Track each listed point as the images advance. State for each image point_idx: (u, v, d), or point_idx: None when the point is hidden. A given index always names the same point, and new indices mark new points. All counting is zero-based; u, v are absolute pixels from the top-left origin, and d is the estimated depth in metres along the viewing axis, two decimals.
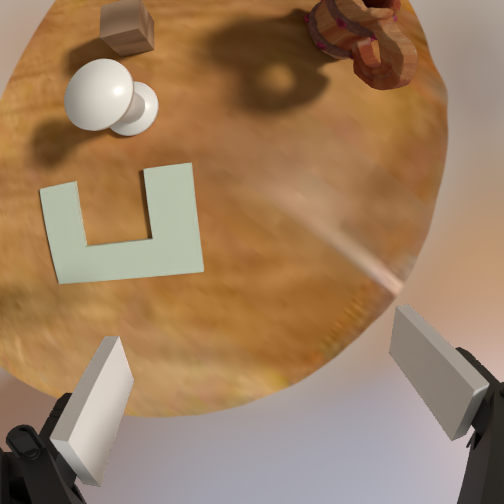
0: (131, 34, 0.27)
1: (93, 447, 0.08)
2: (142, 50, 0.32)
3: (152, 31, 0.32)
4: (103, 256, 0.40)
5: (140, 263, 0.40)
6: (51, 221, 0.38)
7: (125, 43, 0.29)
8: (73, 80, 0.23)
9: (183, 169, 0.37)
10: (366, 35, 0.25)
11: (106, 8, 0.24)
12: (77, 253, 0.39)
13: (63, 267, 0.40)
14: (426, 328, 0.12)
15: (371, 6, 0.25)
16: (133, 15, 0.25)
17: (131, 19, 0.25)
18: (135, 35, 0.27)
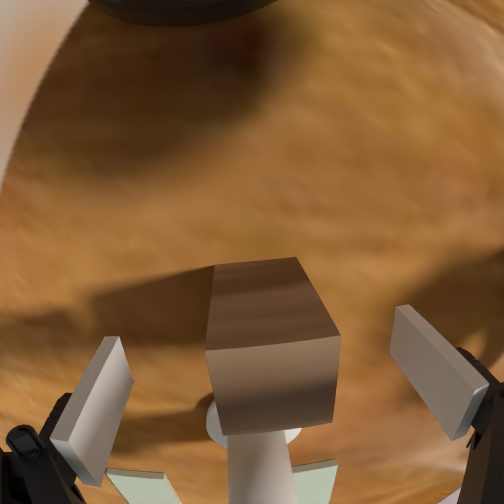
0: None
1: (93, 447, 0.08)
2: None
3: None
4: None
5: None
6: (133, 497, 0.24)
7: None
8: None
9: (327, 471, 0.24)
10: None
11: (227, 363, 0.10)
12: None
13: None
14: (426, 328, 0.12)
15: None
16: (320, 393, 0.11)
17: (314, 403, 0.11)
18: None
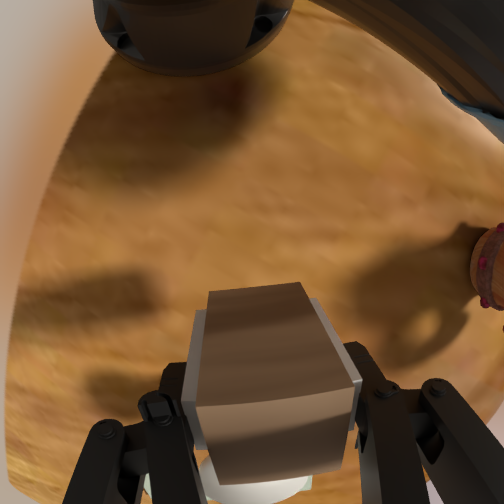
0: None
1: None
2: None
3: None
4: None
5: None
6: None
7: None
8: (211, 471, 0.16)
9: None
10: None
11: (222, 419, 0.08)
12: None
13: None
14: (321, 320, 0.14)
15: None
16: (329, 444, 0.09)
17: (322, 453, 0.09)
18: None
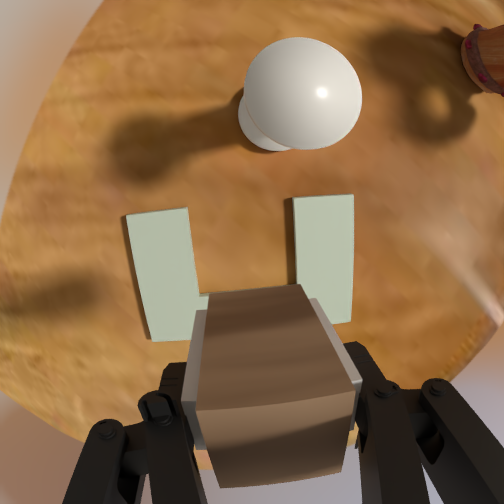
0: None
1: None
2: None
3: None
4: None
5: None
6: (145, 261, 0.30)
7: None
8: (261, 59, 0.16)
9: (344, 202, 0.30)
10: None
11: (223, 423, 0.08)
12: (186, 304, 0.32)
13: (161, 321, 0.32)
14: (321, 320, 0.14)
15: None
16: (329, 447, 0.09)
17: (322, 456, 0.09)
18: None
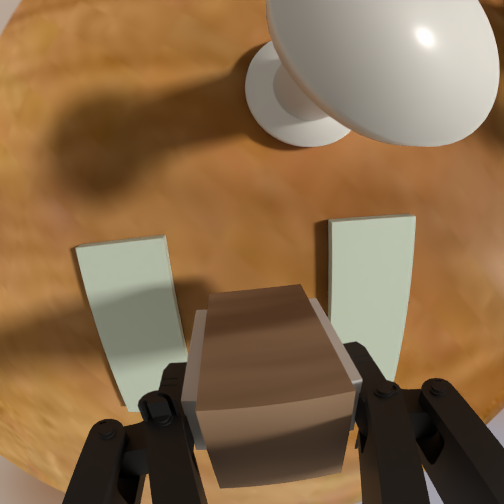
0: None
1: None
2: None
3: None
4: None
5: None
6: (107, 314, 0.20)
7: None
8: None
9: (403, 228, 0.19)
10: None
11: (223, 423, 0.08)
12: None
13: (138, 390, 0.22)
14: (321, 320, 0.14)
15: None
16: (330, 447, 0.09)
17: (322, 457, 0.09)
18: None
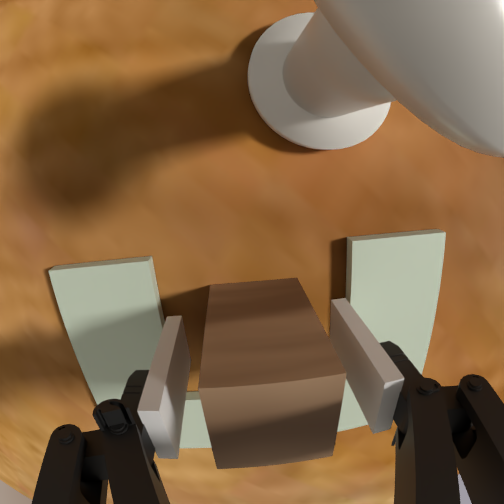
0: None
1: (173, 418, 0.10)
2: None
3: None
4: None
5: None
6: (88, 346, 0.16)
7: None
8: None
9: (432, 246, 0.16)
10: None
11: (223, 401, 0.09)
12: None
13: None
14: (354, 321, 0.13)
15: None
16: (322, 429, 0.10)
17: (315, 438, 0.10)
18: None
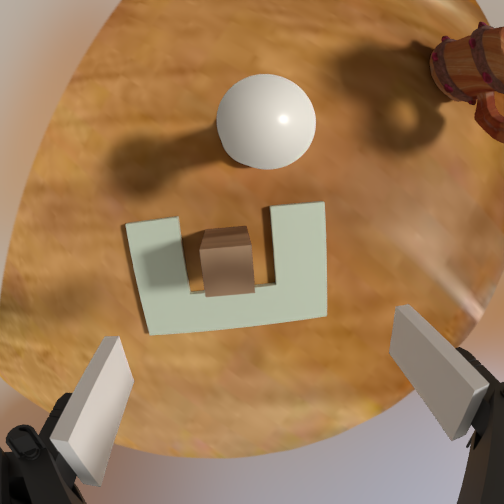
0: None
1: (93, 447, 0.08)
2: None
3: None
4: (213, 305, 0.37)
5: (259, 310, 0.37)
6: (142, 264, 0.35)
7: None
8: (229, 96, 0.20)
9: (316, 209, 0.35)
10: (502, 92, 0.22)
11: (208, 255, 0.28)
12: (178, 301, 0.36)
13: (157, 317, 0.37)
14: (426, 328, 0.12)
15: None
16: (247, 273, 0.28)
17: (244, 279, 0.29)
18: None
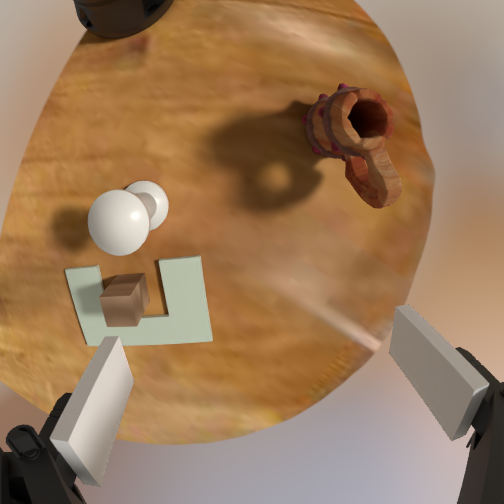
0: None
1: (93, 447, 0.08)
2: None
3: (145, 288, 0.45)
4: (126, 328, 0.47)
5: (159, 334, 0.48)
6: (78, 297, 0.45)
7: None
8: (93, 208, 0.31)
9: (193, 262, 0.45)
10: (358, 156, 0.33)
11: (104, 301, 0.38)
12: (104, 324, 0.47)
13: (91, 333, 0.47)
14: (426, 328, 0.12)
15: (366, 117, 0.32)
16: (130, 314, 0.39)
17: (129, 317, 0.39)
18: None
